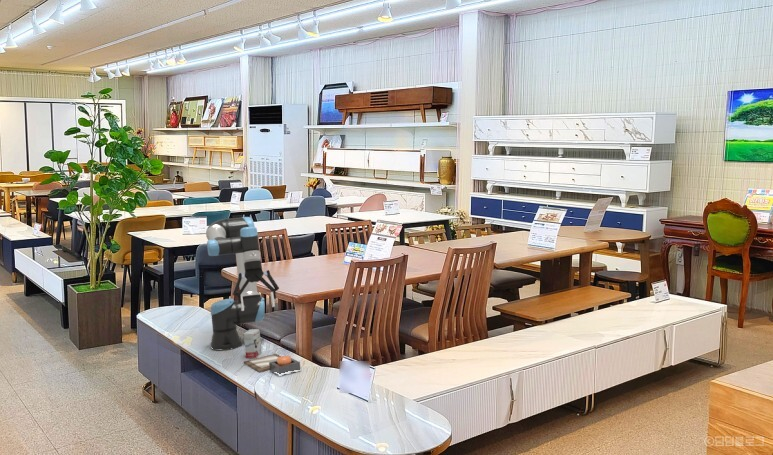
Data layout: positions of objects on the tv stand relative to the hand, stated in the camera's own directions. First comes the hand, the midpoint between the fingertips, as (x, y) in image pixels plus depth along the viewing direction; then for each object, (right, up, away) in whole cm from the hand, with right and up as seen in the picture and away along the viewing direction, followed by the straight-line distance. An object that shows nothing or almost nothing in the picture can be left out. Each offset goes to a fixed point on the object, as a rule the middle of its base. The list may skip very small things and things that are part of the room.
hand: (258, 308), depth 301 cm
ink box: (-7, -25, +23) cm, 35 cm away
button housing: (+12, -27, -4) cm, 30 cm away
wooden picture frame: (+3, -26, +8) cm, 27 cm away
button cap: (+12, -25, -5) cm, 28 cm away
